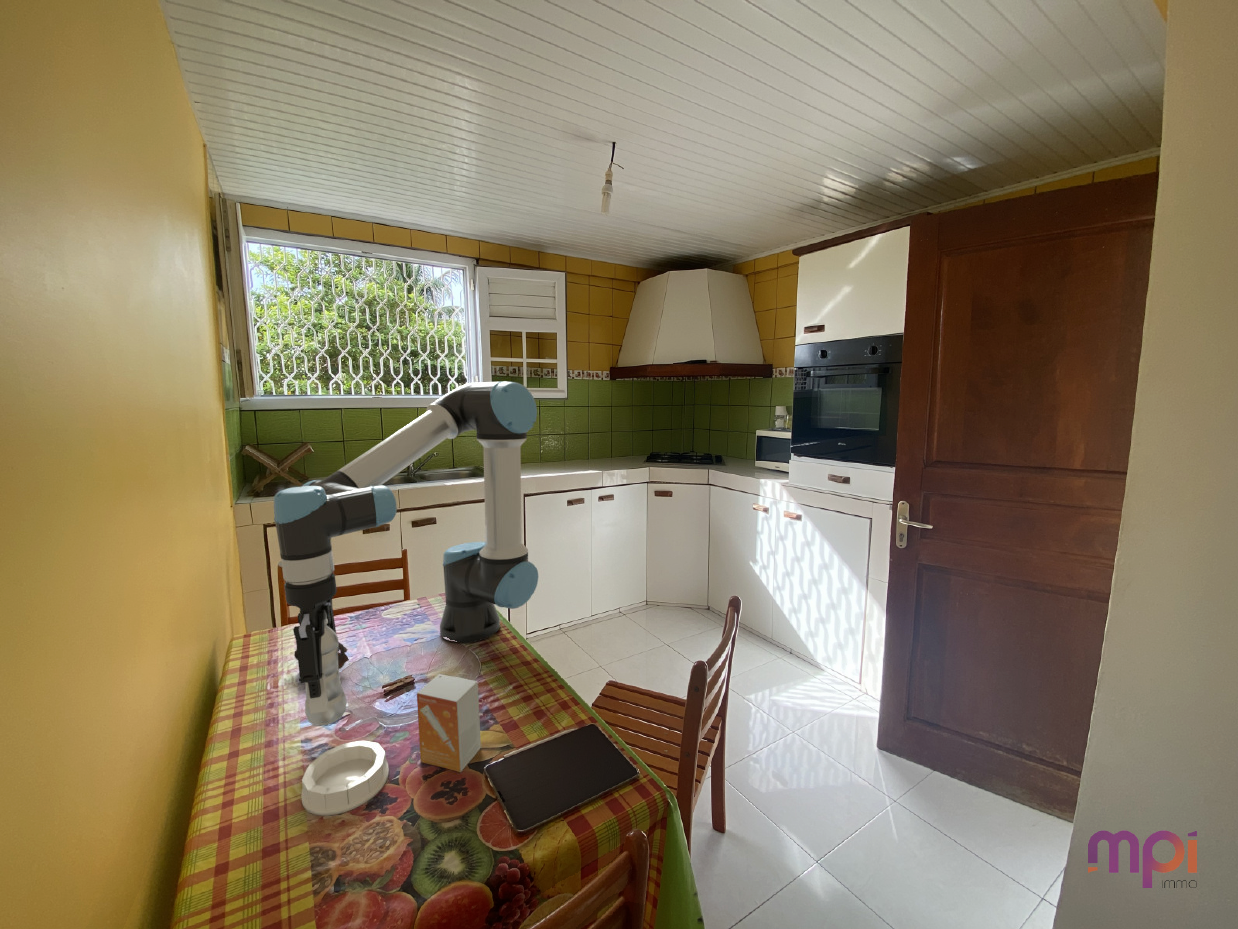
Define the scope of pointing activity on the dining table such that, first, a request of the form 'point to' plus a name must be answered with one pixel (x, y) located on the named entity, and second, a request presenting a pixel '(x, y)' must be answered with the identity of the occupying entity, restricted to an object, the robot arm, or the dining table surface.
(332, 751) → the bowl
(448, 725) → the small box
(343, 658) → the broken clay pot
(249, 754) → the dining table surface
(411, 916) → the dining table surface
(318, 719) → the plastic bottle
